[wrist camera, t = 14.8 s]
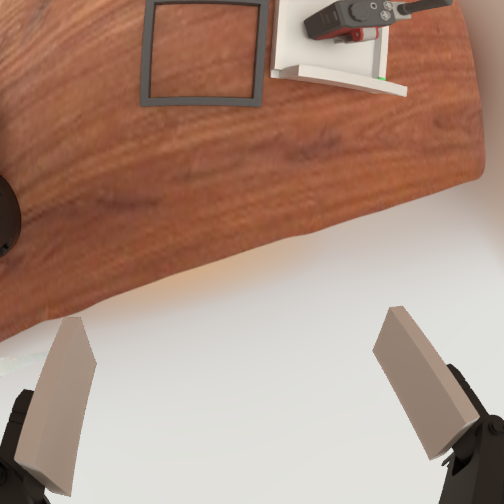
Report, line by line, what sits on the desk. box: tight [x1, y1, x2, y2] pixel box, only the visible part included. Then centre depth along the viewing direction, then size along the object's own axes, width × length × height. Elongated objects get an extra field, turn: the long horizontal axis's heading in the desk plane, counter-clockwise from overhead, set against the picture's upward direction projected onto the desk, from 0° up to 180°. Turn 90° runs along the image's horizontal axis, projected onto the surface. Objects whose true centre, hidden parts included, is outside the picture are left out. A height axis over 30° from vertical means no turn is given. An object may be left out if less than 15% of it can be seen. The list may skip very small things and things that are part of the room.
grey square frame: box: [140, 0, 269, 107], centre depth 33 cm, size 15×15×2 cm
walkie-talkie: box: [304, 0, 453, 44], centre depth 25 cm, size 9×4×20 cm, turn 106°
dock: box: [269, 0, 407, 97], centre depth 30 cm, size 15×15×10 cm
